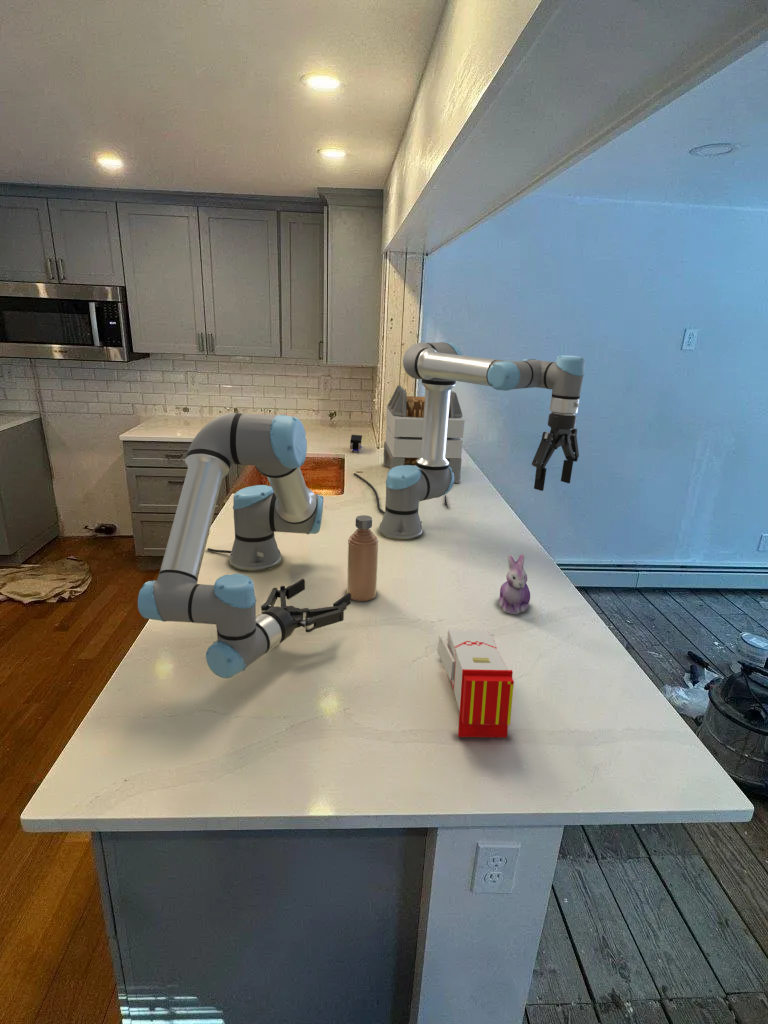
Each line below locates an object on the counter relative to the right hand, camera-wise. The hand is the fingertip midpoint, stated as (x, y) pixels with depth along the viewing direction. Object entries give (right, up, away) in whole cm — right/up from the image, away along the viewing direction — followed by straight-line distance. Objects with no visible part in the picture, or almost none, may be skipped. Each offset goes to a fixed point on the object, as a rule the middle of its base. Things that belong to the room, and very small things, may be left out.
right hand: (552, 485), depth 166 cm
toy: (-31, -45, -47) cm, 72 cm away
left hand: (-63, -27, -26) cm, 74 cm away
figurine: (-14, -33, -12) cm, 38 cm away
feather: (-23, -2, +75) cm, 78 cm away
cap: (-54, -9, -16) cm, 58 cm away
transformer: (-32, +11, +109) cm, 115 cm away
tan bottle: (-55, -30, -9) cm, 64 cm away
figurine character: (-65, +26, +147) cm, 163 cm away
